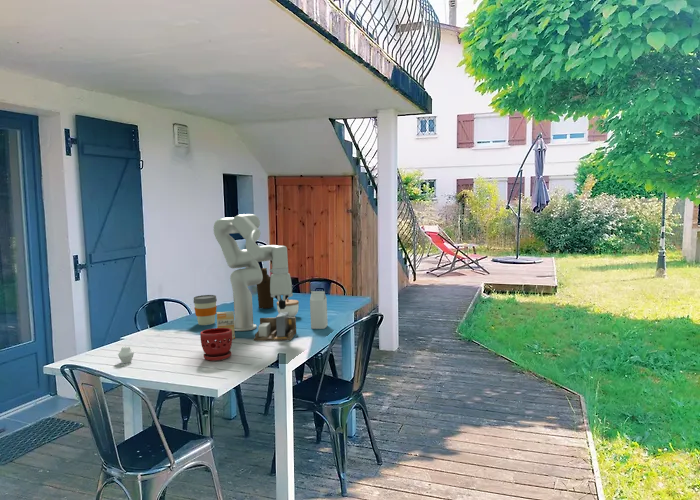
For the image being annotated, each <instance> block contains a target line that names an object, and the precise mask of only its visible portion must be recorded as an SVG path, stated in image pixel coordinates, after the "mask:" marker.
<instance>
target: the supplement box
mask: <svg viewBox="0 0 700 500" xmlns="http://www.w3.org/2000/svg"><path fill="white" fill-rule="evenodd" d="M234 320H235V314H234V311H233V310H230V311H216V328H230V329H231V330H232V340H234V339H236V336H235V335H236V333H235V329H234ZM224 340H226V339H224Z"/></svg>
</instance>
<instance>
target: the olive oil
mask: <svg viewBox="0 0 700 500" xmlns="http://www.w3.org/2000/svg"><path fill="white" fill-rule="evenodd" d="M261 271H262V275H263V279H262V282H261V283H260V284H257V285H256V291H257V304H258V309H271V308H274V305H275V304H274V303H275V301H274V298H273V297H271V293H270V280H271V275H269V274H268V270H267V267H263V268H261Z"/></svg>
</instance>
